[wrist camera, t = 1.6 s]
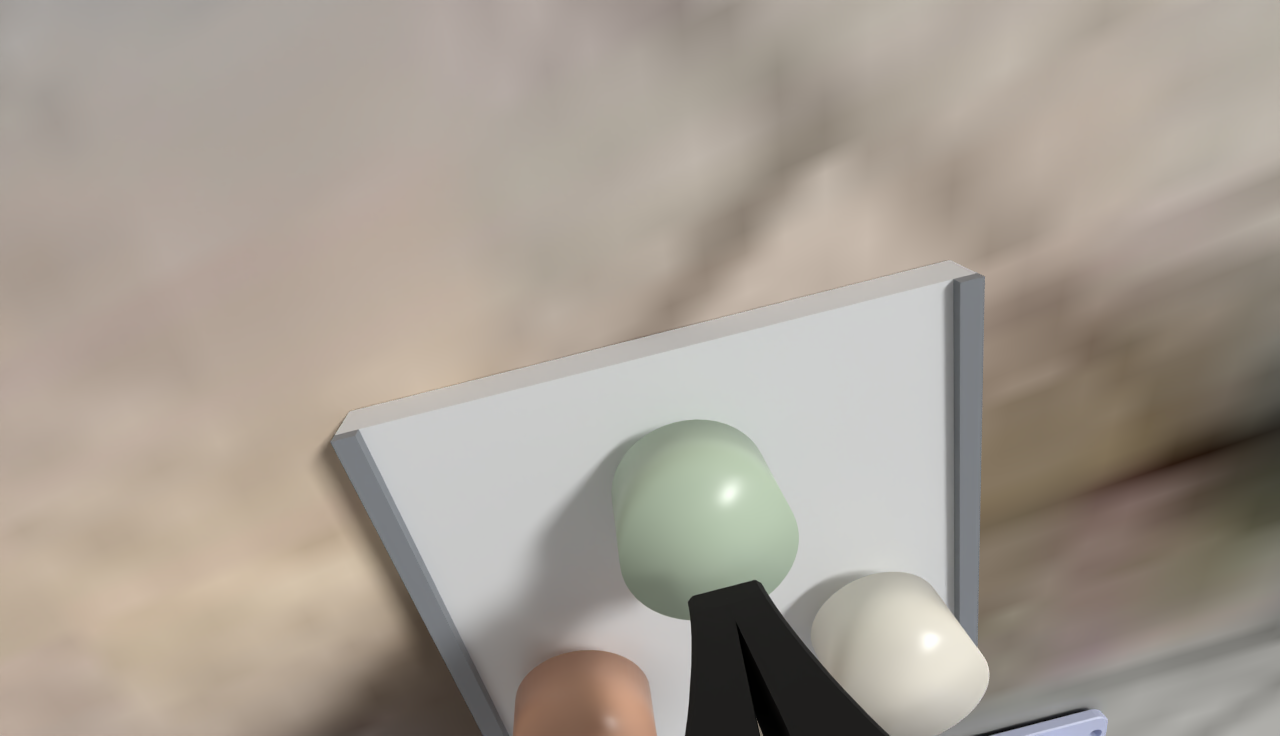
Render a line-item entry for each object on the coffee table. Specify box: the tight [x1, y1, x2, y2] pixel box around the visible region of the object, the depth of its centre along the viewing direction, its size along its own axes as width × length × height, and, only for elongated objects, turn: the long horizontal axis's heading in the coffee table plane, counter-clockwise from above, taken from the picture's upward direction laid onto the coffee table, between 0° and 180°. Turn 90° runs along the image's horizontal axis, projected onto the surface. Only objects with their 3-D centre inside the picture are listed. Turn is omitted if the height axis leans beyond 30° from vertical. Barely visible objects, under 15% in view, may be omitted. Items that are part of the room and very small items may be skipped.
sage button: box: [611, 419, 799, 620], centre depth 15 cm, size 4×4×2 cm
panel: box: [331, 260, 985, 736], centre depth 19 cm, size 14×16×2 cm
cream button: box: [811, 572, 989, 736], centre depth 18 cm, size 4×4×2 cm
